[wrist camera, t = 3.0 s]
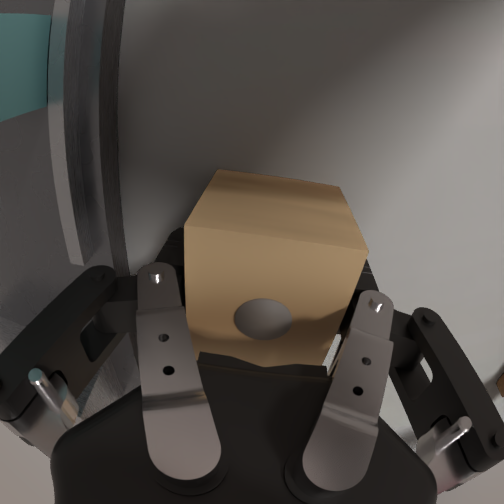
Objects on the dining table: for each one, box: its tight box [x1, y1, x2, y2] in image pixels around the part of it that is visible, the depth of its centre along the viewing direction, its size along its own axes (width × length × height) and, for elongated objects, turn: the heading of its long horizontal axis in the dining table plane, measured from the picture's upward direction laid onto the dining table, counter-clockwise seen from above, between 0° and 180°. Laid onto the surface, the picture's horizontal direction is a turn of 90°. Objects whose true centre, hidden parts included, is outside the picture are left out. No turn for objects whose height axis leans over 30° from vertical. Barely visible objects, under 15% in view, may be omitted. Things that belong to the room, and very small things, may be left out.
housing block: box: [184, 169, 369, 367], centre depth 12 cm, size 6×5×5 cm
